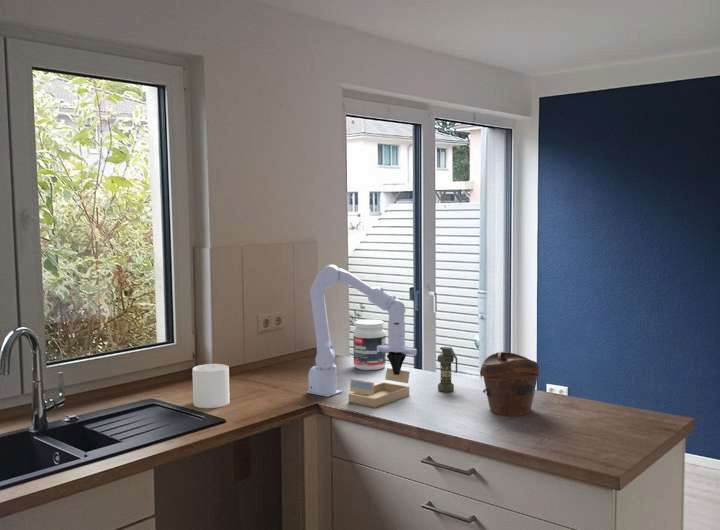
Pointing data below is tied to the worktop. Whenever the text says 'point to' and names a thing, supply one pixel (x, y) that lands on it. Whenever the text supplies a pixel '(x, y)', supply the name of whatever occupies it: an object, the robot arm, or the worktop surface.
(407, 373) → the far flap
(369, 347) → the supplement tub
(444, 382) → the grenade
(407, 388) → the light wood shallow tray
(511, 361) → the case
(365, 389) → the near flap
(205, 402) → the white cylinder
